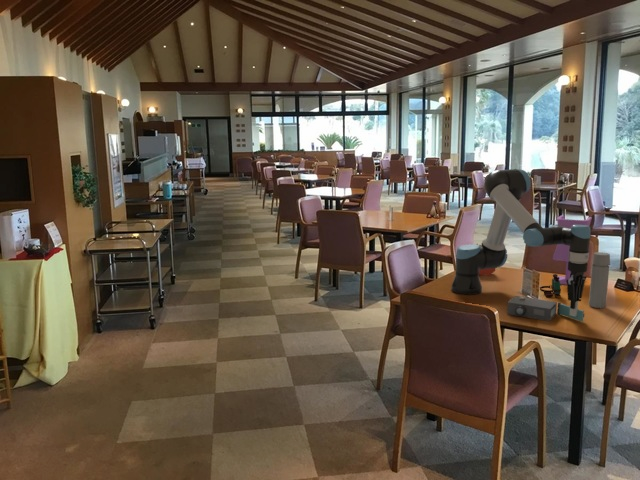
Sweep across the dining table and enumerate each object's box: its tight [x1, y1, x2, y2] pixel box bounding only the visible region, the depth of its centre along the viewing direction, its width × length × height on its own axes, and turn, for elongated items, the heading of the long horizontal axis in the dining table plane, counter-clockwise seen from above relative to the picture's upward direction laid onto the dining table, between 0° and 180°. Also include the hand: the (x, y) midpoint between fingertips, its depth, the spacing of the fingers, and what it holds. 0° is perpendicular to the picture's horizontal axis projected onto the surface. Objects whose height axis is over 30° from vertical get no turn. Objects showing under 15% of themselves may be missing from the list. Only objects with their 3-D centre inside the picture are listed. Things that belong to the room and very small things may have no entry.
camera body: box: [506, 295, 558, 322], centre depth 250 cm, size 18×14×6 cm
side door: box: [556, 301, 585, 322], centre depth 245 cm, size 2×13×5 cm, turn 25°
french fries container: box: [475, 243, 496, 276], centre depth 322 cm, size 5×11×18 cm, turn 89°
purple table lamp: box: [552, 215, 593, 286], centre depth 301 cm, size 16×16×35 cm
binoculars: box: [539, 273, 563, 299], centre depth 278 cm, size 9×11×10 cm
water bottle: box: [588, 251, 611, 309], centre depth 260 cm, size 9×8×25 cm
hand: (573, 315), depth 241 cm, fingers closed
